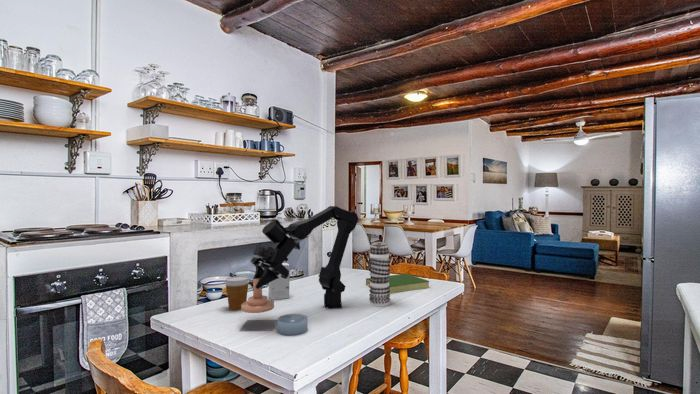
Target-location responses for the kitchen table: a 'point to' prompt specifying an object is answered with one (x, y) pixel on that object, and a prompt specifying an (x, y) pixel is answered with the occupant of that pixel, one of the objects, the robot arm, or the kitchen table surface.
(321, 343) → the kitchen table surface
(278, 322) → the ramekin
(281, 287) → the skincare box
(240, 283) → the disposable coffee cup
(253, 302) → the lid
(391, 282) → the hardcover book
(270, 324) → the mat
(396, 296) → the kitchen table surface
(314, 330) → the kitchen table surface
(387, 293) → the white patterned cylinder
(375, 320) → the kitchen table surface
